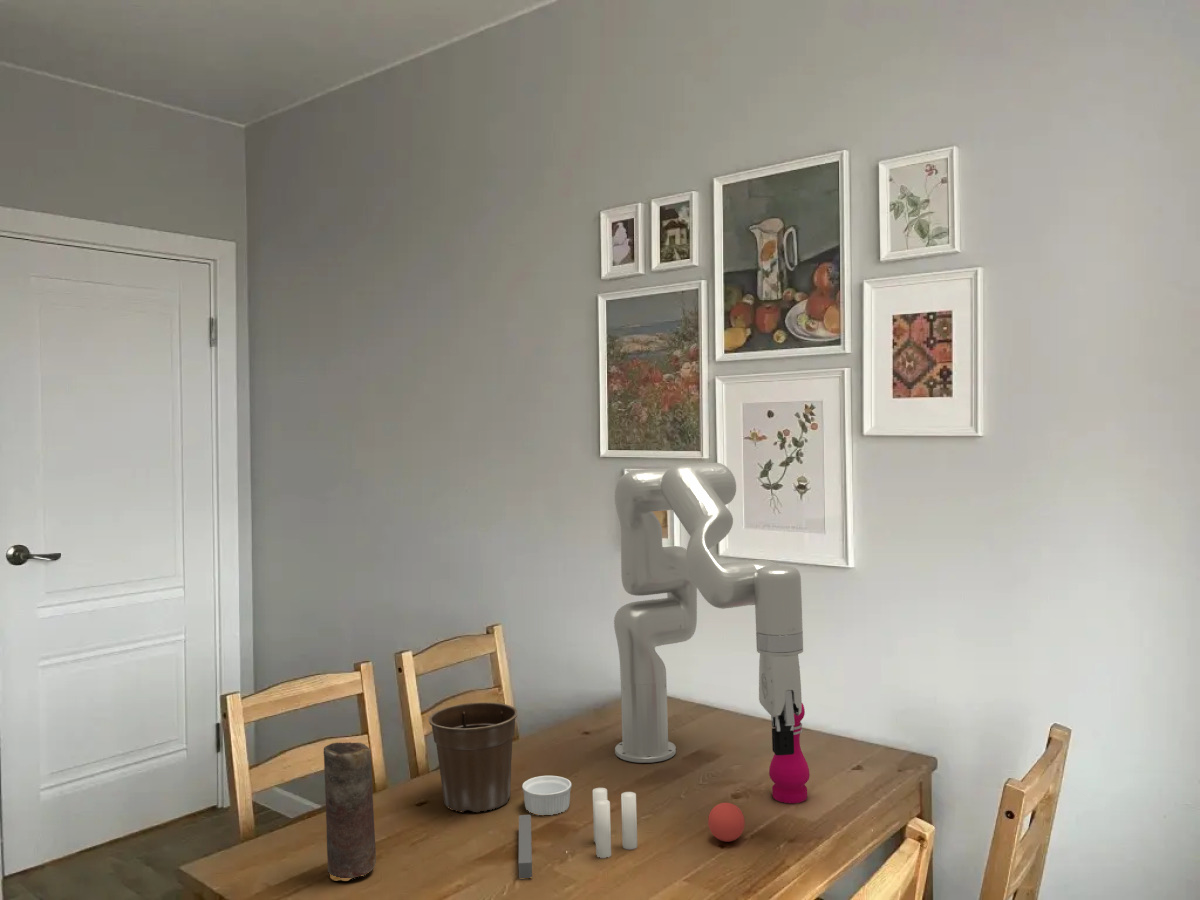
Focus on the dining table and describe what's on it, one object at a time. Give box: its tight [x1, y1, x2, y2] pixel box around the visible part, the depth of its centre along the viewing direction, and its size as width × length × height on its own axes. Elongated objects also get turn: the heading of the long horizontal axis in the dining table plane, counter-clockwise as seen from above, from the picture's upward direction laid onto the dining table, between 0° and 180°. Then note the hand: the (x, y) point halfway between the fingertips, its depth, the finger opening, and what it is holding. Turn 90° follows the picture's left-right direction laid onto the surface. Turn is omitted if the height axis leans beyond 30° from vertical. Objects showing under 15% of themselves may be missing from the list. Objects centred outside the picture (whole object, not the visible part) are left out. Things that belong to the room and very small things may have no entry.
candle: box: [323, 742, 377, 878], centre depth 151 cm, size 8×7×20 cm
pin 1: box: [592, 787, 608, 844], centre depth 160 cm, size 2×2×8 cm
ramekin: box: [521, 775, 572, 816], centre depth 175 cm, size 9×9×4 cm
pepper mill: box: [768, 702, 811, 804], centre depth 176 cm, size 7×7×20 cm
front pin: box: [620, 791, 638, 850], centre depth 158 cm, size 2×2×8 cm
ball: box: [707, 802, 746, 843], centre depth 159 cm, size 6×6×6 cm
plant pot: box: [428, 701, 518, 813], centre depth 179 cm, size 16×16×16 cm
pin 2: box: [595, 799, 612, 859], centre depth 155 cm, size 2×2×8 cm
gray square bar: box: [518, 814, 533, 879], centre depth 157 cm, size 18×2×2 cm, turn 5°
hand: (783, 753), depth 159 cm, fingers closed
